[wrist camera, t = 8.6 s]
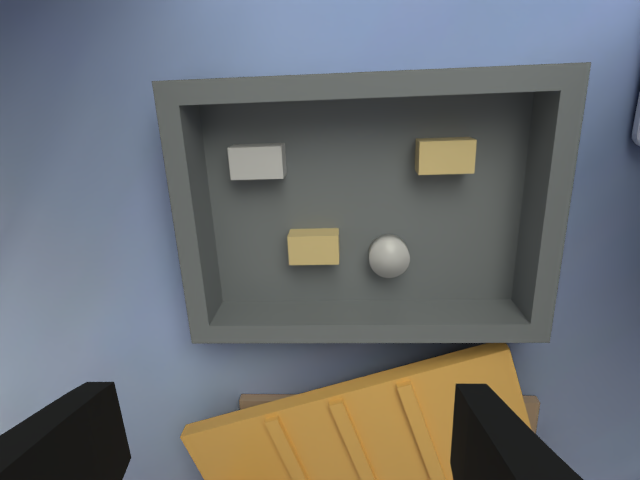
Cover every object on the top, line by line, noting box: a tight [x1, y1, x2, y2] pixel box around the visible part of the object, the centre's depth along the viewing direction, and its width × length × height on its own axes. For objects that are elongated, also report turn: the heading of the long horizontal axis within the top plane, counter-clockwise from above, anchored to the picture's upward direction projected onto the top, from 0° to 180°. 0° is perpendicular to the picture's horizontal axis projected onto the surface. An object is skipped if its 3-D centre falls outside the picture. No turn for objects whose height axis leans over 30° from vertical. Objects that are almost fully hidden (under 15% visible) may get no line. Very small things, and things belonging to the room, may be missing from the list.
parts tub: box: [152, 62, 591, 343], centre depth 17 cm, size 14×10×3 cm
